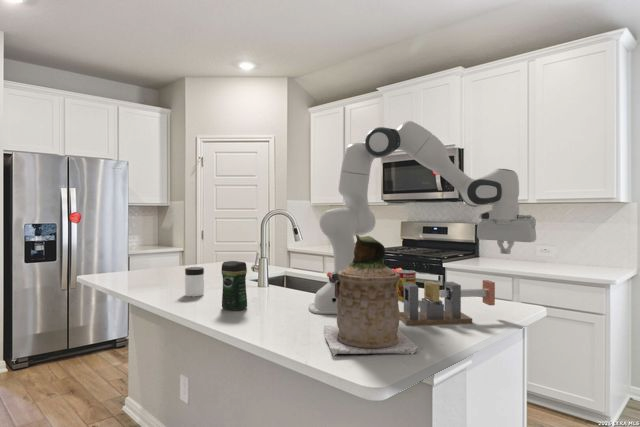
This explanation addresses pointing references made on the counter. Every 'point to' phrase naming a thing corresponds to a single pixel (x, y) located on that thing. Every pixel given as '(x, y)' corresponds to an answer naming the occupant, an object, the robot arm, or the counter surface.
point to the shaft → (476, 292)
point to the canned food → (405, 281)
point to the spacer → (431, 291)
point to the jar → (194, 281)
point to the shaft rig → (433, 307)
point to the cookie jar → (367, 305)
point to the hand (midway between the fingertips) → (505, 253)
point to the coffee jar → (234, 285)
